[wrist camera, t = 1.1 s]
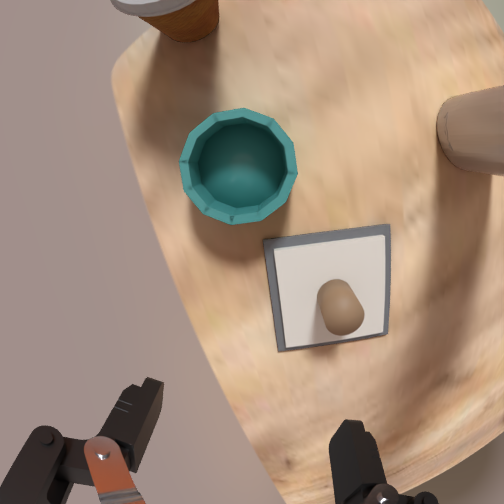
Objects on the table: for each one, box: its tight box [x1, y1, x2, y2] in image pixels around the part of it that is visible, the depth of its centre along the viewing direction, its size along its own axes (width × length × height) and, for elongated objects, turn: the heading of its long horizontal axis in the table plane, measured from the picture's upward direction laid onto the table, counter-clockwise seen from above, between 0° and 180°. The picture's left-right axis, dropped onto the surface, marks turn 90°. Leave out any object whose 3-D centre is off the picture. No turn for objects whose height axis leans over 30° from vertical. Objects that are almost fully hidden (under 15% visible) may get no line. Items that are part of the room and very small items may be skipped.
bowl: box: [179, 108, 298, 225], centre depth 28 cm, size 10×10×5 cm
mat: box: [263, 224, 391, 351], centre depth 33 cm, size 14×14×1 cm
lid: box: [274, 235, 385, 348], centre depth 30 cm, size 12×12×6 cm
